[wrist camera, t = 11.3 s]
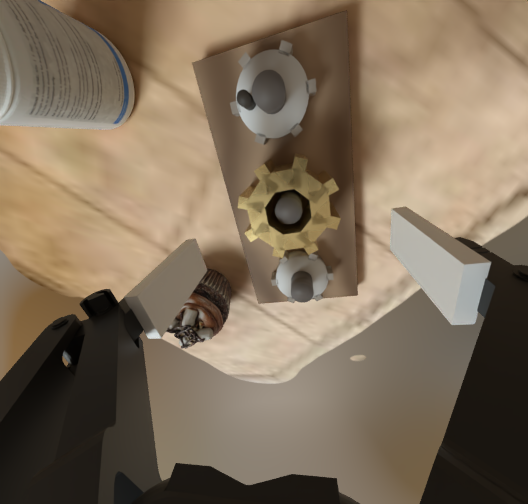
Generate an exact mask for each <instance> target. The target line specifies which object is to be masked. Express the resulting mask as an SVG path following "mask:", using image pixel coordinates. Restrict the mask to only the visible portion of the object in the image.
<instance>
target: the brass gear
mask: <svg viewBox="0 0 528 504" xmlns="http://www.w3.org/2000/svg"><path fill="white" fill-rule="evenodd" d="M307 162H308V159H307V157H306V156H305V155H300V154H295V156H294V161H293V163H291V164H286V165H281V166H277V167H276V166H275V165H274V163H273V161H272V160H271V159H270V160H269V161H267V162H266V163H264V164H263V165H262V166H260V167H259V168H258V169H256V170H255V171H254V172H255V174H256V176H257V177H258V179H259V180H260V181H259V183H258V185H257V186H251V185H250V186H249V187H248V188H247V189H246V190H245V191H244V192H243V193H242V194H241V195H240V196H239V200H238V208H241V209H245V210H247V211H248V215H249V219H250V224H249V226H248V228H247V229H246V231H245V233H244V234H245V235H246V236H247V238H248V239H249V240H250V242H252V241H253V240H255V239H257V238H260V239H261V240H263V241H264V242H266V243H268V244H269V245H271V246H272V247H274V249H273V254H272V256H275V257H280V258H283V256H284V252H285V250H290V249H297V248H304V249H305V250H306V252H307V253H308V255H309V254H311V253H313V252H315V251H317V250H319V249H318V244H317V238H318V237H319V236H320V235H321V233H322V232H323V231H324V230H325V229H326V228H332V229H336V230H337V228H338V225H339V222H340V219H341V218H340V216H339V214H338V212H337V211H336V209H335V207H334V206H333V204H332V203H330V202H329V195H331V194H332V193H334V192H336V191H337V190H339V188H338V187H337V185H336V183H335V181H334V179H333V178H332V177H331V176H330V175H329V174H328V173H327V172H326V171H323V172H322V173H320V174H319V175H316V174H314V173H313V172H312V171H310V170H309V169H308V168H306V166H307ZM291 189H295V190H296V191H298V192H299V193H300V194H302V195H303V196H305V197H306V198H307V199H308V202H309V203H308V205H307V206H306V207H305V208H304V210H303V211H302V215H301V217H300V219H299V220H298V221H297V222H295V223H293V224H284V223H282V222H280V221H279V220H278V219H277V217H276V215H275V210H274V208H273V203H272V196H273V195H274V193H275V192H281V191H286V190H291Z"/></svg>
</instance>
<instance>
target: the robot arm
mask: <svg viewBox="0 0 528 504" xmlns="http://www.w3.org/2000/svg"><path fill="white" fill-rule="evenodd" d="M390 250H391V251H392V252H393V253H394V255H395V256H396V257H397V258H398V260H399V261H400V262H401V263H402V265H403V266H404V267H405V268H406V269H407V271H408V272H409V273H410V274H411V276H412V277H413V278H414V279H415V280H416V282H417V283H418V284H419V285H420V287H421V288H422V289H423V290H424V292H425V293H426V294H427V295H428V296H429V298H430V299H431V300H432V301H433V303H434V304H435V305H436V306H437V308H438V309H439V310H440V311H441V312H442V313H443V315H444V316H445V317H446V318H447V320H448V321H449V322H450V323H451V325H462V324H475V321H476V317H477V313H478V312H479V313H480V314H481V315H482V316H484V318H485V319H484V322H483V325H482V327H481V330H480V333H479V336H478V339H477V342H476V345H475V348H474V351H473V354H472V357H471V360H470V362H469V366H468V368H467V371H466V374H465V377H464V380H463V383H462V386H461V389H460V392H459V395H458V398H457V400H456V404H455V406H454V409H453V412H452V415H451V418H450V421H449V424H448V427H447V430H446V433H445V436H444V438H443V441H442V444H441V446H440V448H439V450H438V453H437V456H436V459H435V461H434V464H433V467H432V470H431V472H430V475H429V478H428V481H427V484H426V487H425V491H424V493H423V496H422V499H421V501H420V504H528V266H525V265H512V264H510V263H509V262H507V261H505V260H504V259H502V258H500V257H499V256H497V255H495V254H494V253H492V252H491V253H490V251H488V250H487V249H485V248H482V246H480V245H479V244H477V243H475V242H474V241H471V240H468V239H464V238H461V237H458V238H453V237H452V236H450V235H449V234H447V233H446V232H444V231H443V230H441V229H439V228H438V227H436V226H435V225H433V224H432V223H430V222H429V221H427V220H426V219H424V218H423V217H421V216H419V215H418V214H416V213H415V212H413V211H412V210H410V209H409V208H407V207H400V208H393V209H392V213H391V238H390ZM206 272H207V268H206V265H205V262H204V260H203V257H202V254H201V252H200V249H199V246H198V244H197V241H196V239H190V240H186V241H185V242H184V243H182V244H181V245H180V246H179V247H178V248H177V249H176V250H175V251H174V252H173V253H172V254H170V255H169V256H168V257H167V258H166V259H165V260H164V261H163V262H162V263H161V264H160V265H158V266H157V267H156V268H155V269H154V270H153V271H152V272H151V273H150V274H149V275H148V276H146V277H145V278H144V279H143V280H142V281H141V282H140V283H139V284H138V285H137V286H136V287H134V288H133V289H132V290H131V291H130V292H129V293H128V294H127V295H126V296H125V297H124V298H123V299H122V300H121V301H120V302H119V303H118V301H117V300H116V298H115V297H114V295H113V293H112V292H111V290H110V289H104V290H100V291H97V292H95V293H93V294H91V295H89V296H88V297H86V298H85V299H84V300H83V301H81V303H80V306H81V307H82V309H83V310H84V311H85V313H86V314H87V315H88V317H89V319H87V320H84V321H79V319H78V318H77V316H76V315H73V314H71V315H67V316H65V317H61V318H59V319H57V320H55V321H54V322H53V323H52V324H50V325H49V326H48V327H47V328H45V330H44V331H43V332H42V333H41V334H40V335H39V336H38V338H37V339H36V340H35V341H34V342H33V343H32V345H31V346H30V347H29V348H28V349H27V351H26V352H25V353H24V354H23V355H22V356H21V357H20V359H19V360H18V361H17V362H16V363H15V364H14V366H13V367H12V368H11V369H10V370H9V371H8V373H7V374H6V375H5V376H4V377H3V379H2V380H1V381H0V504H359V503H358V502H356V501H355V500H353V499H352V498H350V497H348V496H346V495H344V494H341V493H340V492H339V491H338V485H337V478H327V477H317V476H306V475H296V474H291V475H287V476H283V477H280V478H276V479H272V480H269V481H265V482H261V483H257V484H253V485H245V484H243V483H241V482H239V481H237V480H235V479H233V478H231V477H229V476H228V475H226V474H224V473H222V472H220V471H218V470H216V469H214V468H212V467H211V466H200V465H191V464H180V463H176V464H175V467H174V469H173V472H172V475H171V477H170V478H168V479H166V480H164V481H162V480H161V478H160V475H159V471H158V466H157V458H156V449H155V441H154V432H153V424H152V417H151V408H150V401H149V392H148V384H147V375H146V368H145V359H144V351H143V342H142V340H141V338H140V337H139V335H140V334H141V333H142V332H143V330H144V332H145V333H146V335H147V337H148V338H149V339H150V338H151V339H152V338H162V336H163V335H164V333H165V332H166V330H167V329H168V328H169V326H170V325H171V323H172V322H173V320H174V319H175V317H176V316H177V314H178V313H179V311H180V310H181V308H182V307H183V306H184V304H185V303H186V301H187V300H188V298H189V297H190V295H191V294H192V292H193V291H194V289H195V288H196V287H197V285H198V284H199V282H200V281H201V279H202V278H203V276H204V275H205V273H206ZM62 356H63V357H64V358H65V359H66V360H67V361H68V365H67V367H66V366H65V365H64V363H63V361H62Z"/></svg>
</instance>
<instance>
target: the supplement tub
mask: <svg viewBox="0 0 528 504" xmlns="http://www.w3.org/2000/svg"><path fill="white" fill-rule="evenodd" d="M134 96H135V93H134V84H133V80H132V76H131V73H130V70H129V68H128V66H127V64H126V62H125V60H124V58H123V57H122V55H121V53H120V52H119V51H118V49H117V48H116V47H115V46H114V45H113V44H112V42H111V41H109V40H108V39H107V38H106V37H105V36H104V35H102V34H101V33H99V32H98V31H96V30H94V29H92V28H90V27H89V26H87V25H85V24H83V23H81V22H79V21H77V20H76V19H74V18H72V17H70V16H68V15H66V14H64V13H62V12H60V11H58V10H57V9H55V8H53V7H51V6H49V5H47V4H45V3H44V2H42V1H40V0H0V125H8V126H31V127H53V128H76V129H104V130H109V129H114V128H117V127H119V126H121V125H122V124H123V123H124V122H125V121H126V120H127V119H128V117H129V116H130V114H131V112H132V109H133V105H134Z"/></svg>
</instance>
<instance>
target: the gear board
mask: <svg viewBox="0 0 528 504" xmlns="http://www.w3.org/2000/svg"><path fill="white" fill-rule="evenodd" d="M192 65H193V68H194V72H195V75H196V79H197V83H198V86H199V90H200V94H201V97H202V101H203V104H204V108H205V112H206V115H207V119H208V123H209V126H210V130H211V133H212V137H213V141H214V144H215V148H216V152H217V155H218V159H219V162H220V166H221V170H222V173H223V177H224V181H225V184H226V188H227V191H228V195H229V199H230V202H231V206H232V210H233V213H234V217H235V220H236V224H237V228H238V231H239V235H240V239H241V242H242V246H243V249H244V253H245V257H246V260H247V264H248V268H249V271H250V275H251V278H252V282H253V286H254V289H255V293H256V297H257V300H258V304H261V303H273V302H285V301H289V302H292V303H294V302H295V301H298V302H307V301H309V300H311V299H315V300H316V301H318V300H320V299H322V298H333V297H344V296H356V295H358V291H357V264H356V238H355V211H354V185H353V158H352V132H351V105H350V78H349V52H348V25H347V10H346V11H343V12H340V13H337V14H334V15H331V16H328V17H326V18H323V19H320V20H317V21H314V22H311V23H308V24H305V25H302V26H299V27H296V28H293V29H290V30H287V31H284V32H281V33H279V34H276V35H273V36H270V37H267V38H264V39H261V40H258V41H255V42H252V43H249V44H246V45H243V46H240V47H237V48H234V49H231V50H229V51H226V52H223V53H220V54H217V55H214V56H211V57H208V58H205V59H202V60H199V61H196V62H193V63H192ZM295 154H300V155H305V156H306V157H307V159H308V162H307V166H306V168H308V169H309V170H310V171H312V172H313V173H314V174H316V175H319V174H320V173H322V172H323V171H326V172H327V173H328V174H329V175H330V176H331V177H332V178H333V179H334V181H335V183H336V185H337V187H338V188H339V190H337V191H336V192H334V193H332V194H331V195H329V202H330V203H332V204H333V206H334V207H335V209H336V211H337V212H338V214H339V216H340V218H341V219H340V222H339V225H338V228H337V230H336V229H332V228H326V229H325V230H324V231H323V232H322V233H321V235H320V236H319V237H318V238H317V244H318V249H319V250H317V251H315V252H313V253H311V254H309V255H308V253H307V252H306V250H305V249H304V248H297V249H290V250H285V252H284V256H283V258H280V257H275V256H272V254H273V249H274V247H272V246H271V245H269V244H268V243H266V242H264V241H263V240H261V239H260V238H257V239H255V240H253V241H252V242H250V240H249V239H248V238H247V236H246V235H245V234H244V233H245V231H246V229H247V228H248V226H249V224H250V219H249V215H248V211H247V210H245V209H241V208H238V200H239V196H240V195H241V194H242V193H243V192H244V191H245V190H246V189H247V188H248V187H249V186H250V185H251V186H257V185H258V183H259V181H260V180H259V179H258V177H257V176H256V174H255V172H254V171H255V170H256V169H258V168H259V167H260V166H262V165H263V164H264V163H266V162H267V161H269V160H270V159H271V160H272V161H273V163H274V165H275V166H276V167H277V166H281V165H286V164H291V163H293V161H294V156H295ZM272 203H273V208H274V210H275V215H276V217H277V219H278V220H279V221H280V222H282V223H284V224H293V223H295V222H297V221H298V220H299V219H300V217H301V215H302V211H303V210H304V208H305V207H306V206H307V205H308V203H309V202H308V199H307V198H306V197H305V196H303V195H302V194H300V193H299V192H298V191H296V190H295V189H291V190H286V191H281V192H275V193H274V195H273V196H272Z"/></svg>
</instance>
